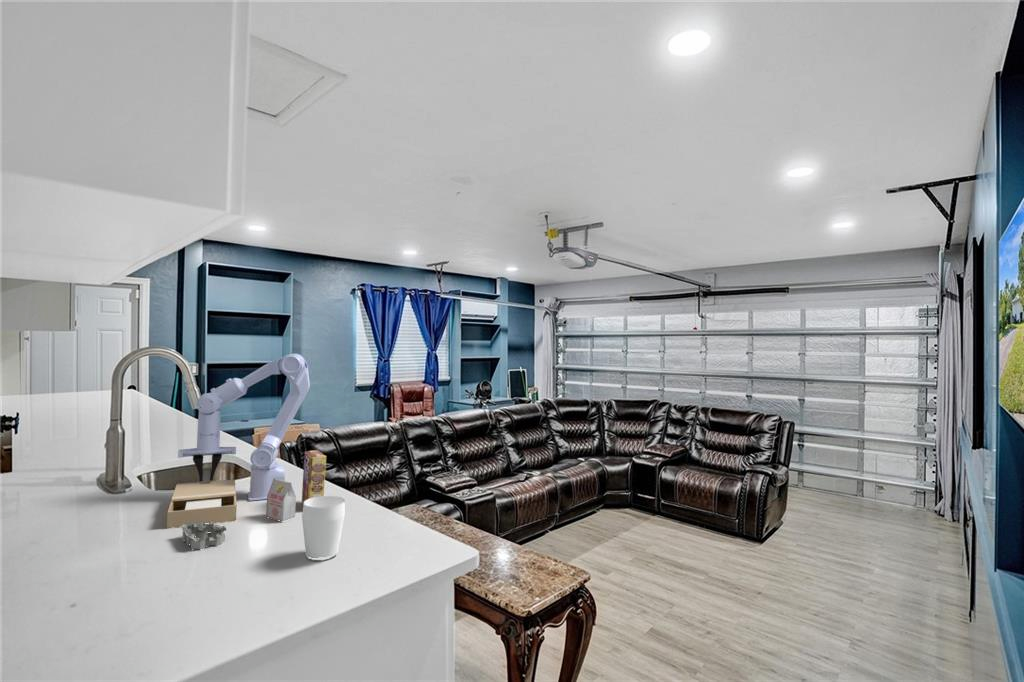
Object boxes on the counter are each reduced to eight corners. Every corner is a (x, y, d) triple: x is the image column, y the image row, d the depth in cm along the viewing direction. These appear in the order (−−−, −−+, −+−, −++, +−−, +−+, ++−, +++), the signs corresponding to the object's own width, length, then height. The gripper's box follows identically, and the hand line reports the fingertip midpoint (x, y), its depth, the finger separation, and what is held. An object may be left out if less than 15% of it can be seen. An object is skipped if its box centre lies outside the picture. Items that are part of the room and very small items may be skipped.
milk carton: (278, 513, 139) (280, 477, 139) (294, 518, 136) (296, 481, 136) (266, 517, 136) (268, 480, 136) (282, 522, 133) (284, 484, 133)
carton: (235, 503, 147) (235, 489, 147) (235, 520, 133) (236, 505, 133) (172, 509, 139) (173, 494, 139) (166, 528, 125) (167, 512, 125)
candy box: (324, 509, 144) (326, 455, 144) (308, 512, 142) (311, 457, 142) (316, 501, 151) (318, 449, 152) (301, 503, 149) (303, 451, 149)
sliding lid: (234, 481, 154) (235, 466, 154) (235, 495, 140) (236, 479, 140) (176, 485, 147) (177, 470, 147) (171, 501, 133) (172, 484, 133)
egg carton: (227, 546, 117) (228, 528, 117) (189, 554, 112) (190, 535, 112) (215, 532, 125) (216, 515, 125) (179, 539, 120) (180, 521, 120)
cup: (324, 567, 108) (326, 510, 108) (290, 559, 111) (293, 504, 111) (351, 551, 116) (354, 499, 116) (319, 544, 119) (322, 493, 120)
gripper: (236, 430, 157) (234, 474, 157) (180, 432, 150) (178, 478, 149) (236, 434, 151) (234, 480, 150) (178, 436, 143) (176, 485, 143)
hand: (206, 480), depth 150 cm, fingers closed on sliding lid, 2 cm apart
